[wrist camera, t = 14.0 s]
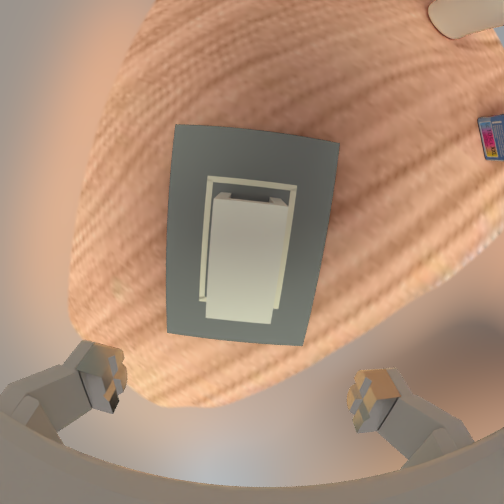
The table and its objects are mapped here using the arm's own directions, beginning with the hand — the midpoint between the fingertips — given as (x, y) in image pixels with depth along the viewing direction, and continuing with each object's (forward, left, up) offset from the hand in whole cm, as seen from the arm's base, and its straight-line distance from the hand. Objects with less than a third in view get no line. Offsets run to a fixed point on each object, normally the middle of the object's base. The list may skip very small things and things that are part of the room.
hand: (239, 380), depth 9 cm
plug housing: (0, 0, -17) cm, 17 cm away
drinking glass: (-30, +20, -18) cm, 40 cm away
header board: (0, 0, -18) cm, 18 cm away
